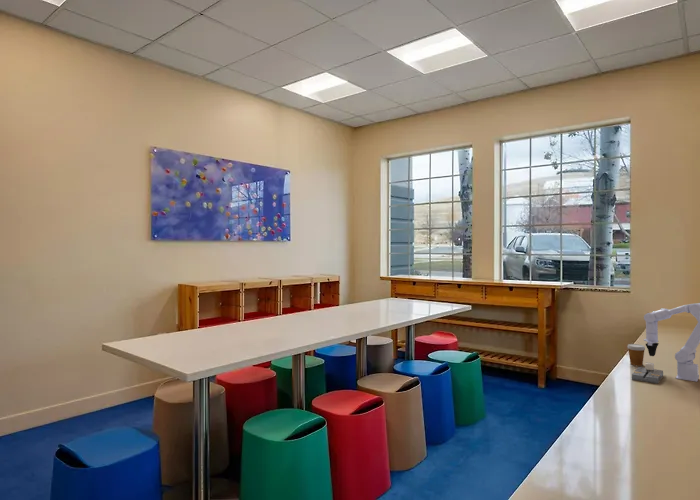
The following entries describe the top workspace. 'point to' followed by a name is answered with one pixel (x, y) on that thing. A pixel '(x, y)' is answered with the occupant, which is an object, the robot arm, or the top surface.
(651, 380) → the fader console
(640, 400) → the top surface
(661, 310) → the robot arm
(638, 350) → the disposable coffee cup
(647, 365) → the fader tab
